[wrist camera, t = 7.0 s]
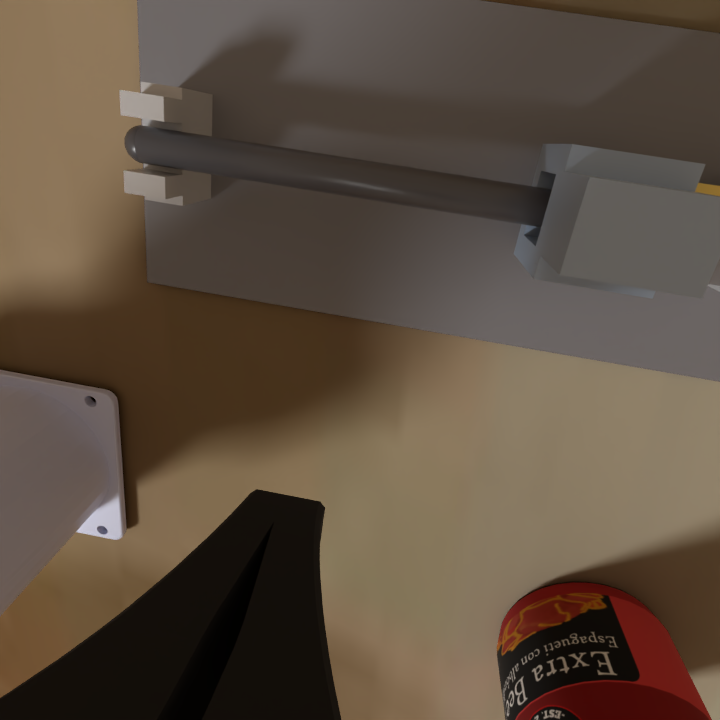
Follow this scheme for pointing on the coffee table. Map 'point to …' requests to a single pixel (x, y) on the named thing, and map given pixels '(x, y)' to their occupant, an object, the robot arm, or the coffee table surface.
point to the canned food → (591, 659)
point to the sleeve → (622, 223)
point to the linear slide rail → (411, 161)
